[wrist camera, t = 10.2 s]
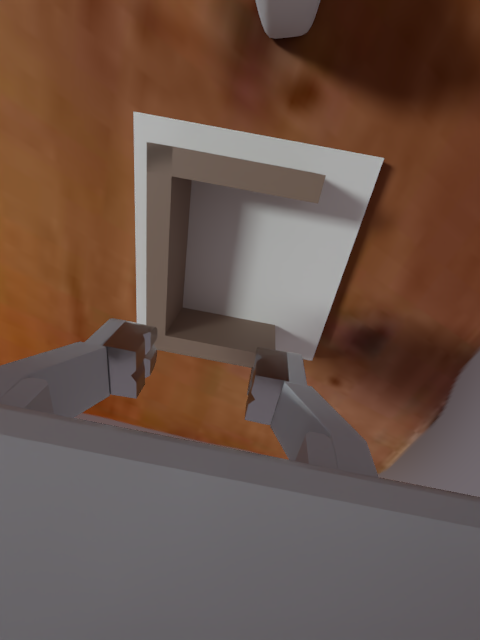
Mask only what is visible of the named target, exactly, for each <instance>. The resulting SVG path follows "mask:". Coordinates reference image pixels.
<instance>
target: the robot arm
mask: <svg viewBox="0 0 480 640" xmlns="http://www.w3.org/2000/svg"><path fill="white" fill-rule="evenodd" d="M156 340H157V328H156V327H153V326H148V325H144V324H139V323H134V322H130V321H125V320H120V319H114V318H112V319H109V320H108V321H107V322H106V323H105V324H104V325H103V326H102V327H101V328H99V329H98V330H97V331H96V332H95V333H94V334H93V335H92V336H91V337H90V338H89V339H88V340H87V341H85V342H77V343H74V344H70V345H67V346H64V347H60V348H57V349H54V350H51V351H47V352H44V353H41V354H38V355H34V356H31V357H28V358H24V359H21V360H18V361H15V362H11V363H8V364H5V365H1V366H0V640H480V497H477V496H471V495H466V494H461V493H456V492H451V491H445V490H441V489H436V488H430V487H425V486H420V485H414V484H410V483H405V482H399V481H394V480H389V479H384V478H379V477H378V474H377V471H376V468H375V465H374V462H373V459H372V457H371V454H370V451H369V448H368V445H367V442H366V441H365V440H364V439H363V438H362V437H361V436H360V435H359V434H358V433H357V432H356V431H355V430H354V429H353V428H352V427H351V426H350V425H349V424H348V423H347V422H346V421H345V420H344V419H343V418H342V417H341V416H340V415H339V414H338V413H337V412H336V411H335V410H334V409H333V408H332V407H331V406H330V405H329V404H328V403H327V402H326V401H325V400H324V399H323V398H322V396H321V395H320V394H319V393H318V392H317V391H316V390H315V389H314V388H313V387H312V386H307V382H306V376H305V370H304V364H303V358H302V355H301V354H297V353H291V352H284V351H278V350H272V349H266V348H260V347H257V349H256V352H255V357H254V366H253V367H252V370H251V375H250V380H249V385H248V393H247V395H248V399H247V403H246V412H245V420H249V421H253V422H258V423H262V424H267V425H271V428H272V430H273V432H274V434H275V435H276V437H277V439H278V441H279V442H280V444H281V446H282V448H283V450H284V451H285V453H286V455H287V457H288V458H289V460H287V459H282V458H276V457H271V456H266V455H261V454H256V453H251V452H246V451H241V450H236V449H231V448H226V447H221V446H216V445H210V444H205V443H200V442H195V441H190V440H185V439H179V438H174V437H169V436H164V435H159V434H154V433H148V432H143V431H138V430H133V429H128V428H123V427H118V426H112V425H107V424H102V423H97V422H92V421H87V420H82V419H77V418H74V417H76V416H77V415H79V414H81V413H82V412H84V411H85V410H87V409H89V408H90V407H92V406H94V405H95V404H97V403H98V402H100V401H102V400H103V399H105V398H107V397H108V396H110V394H112V395H118V396H124V397H130V398H137V397H138V395H139V393H140V392H141V390H142V388H143V387H144V385H145V378H146V377H148V376H150V375H151V373H152V371H153V369H154V366H155V363H156V358H157V348H156V347H155V345H154V343H155V341H156Z"/></svg>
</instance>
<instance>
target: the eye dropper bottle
mask: <svg viewBox="0 0 480 640" xmlns="http://www.w3.org/2000/svg"><path fill="white" fill-rule="evenodd" d="M319 4H320V0H256V5H257V9H258V13H259V16H260V19H261V23H262V25H263V28H264V30H265V32H266V34H267V35H268V36H269V37H271V38H274V39H278V38H288V37H296V36H302V35H303V34H305V33H307V32H308V31H309V29H310V28H311V26H312V24H313V21H314V19H315V16H316V13H317V10H318V7H319Z"/></svg>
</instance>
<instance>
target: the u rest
mask: <svg viewBox="0 0 480 640" xmlns="http://www.w3.org/2000/svg"><path fill="white" fill-rule="evenodd" d="M133 113H134V175H135V237H136V299H137V323H139V324H144V325H148V326H153V327H156V328H157V340H156V341H155V343H154V345H155V347H156V348H157V350H161V351H167V352H172V353H177V354H182V355H187V356H193V357H198V358H203V359H208V360H213V361H219V362H224V363H229V364H234V365H239V366H245V367H250V368H252V367H253V366H254V357H255V352H256V349H257V347H260V348H266V349H272V350H278V351H284V352H291V353H297V354H301V355H302V358H303V359H306V360H312V359H313V357H314V354H315V351H316V348H317V345H318V343H319V340H320V337H321V334H322V331H323V329H324V326H325V323H326V320H327V317H328V315H329V312H330V309H331V306H332V303H333V301H334V298H335V295H336V292H337V289H338V286H339V284H340V281H341V278H342V275H343V272H344V270H345V267H346V264H347V261H348V258H349V256H350V253H351V250H352V247H353V244H354V242H355V239H356V236H357V233H358V230H359V228H360V225H361V222H362V219H363V216H364V214H365V211H366V208H367V205H368V202H369V200H370V197H371V194H372V191H373V188H374V186H375V183H376V180H377V177H378V174H379V172H380V169H381V166H382V163H383V160H384V158H381V157H375V156H370V155H364V154H359V153H354V152H348V151H343V150H338V149H332V148H327V147H321V146H316V145H311V144H305V143H300V142H295V141H289V140H284V139H278V138H273V137H268V136H262V135H257V134H252V133H246V132H241V131H235V130H230V129H225V128H219V127H214V126H209V125H203V124H198V123H192V122H187V121H182V120H176V119H171V118H165V117H160V116H155V115H149V114H144V113H139V112H133Z"/></svg>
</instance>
